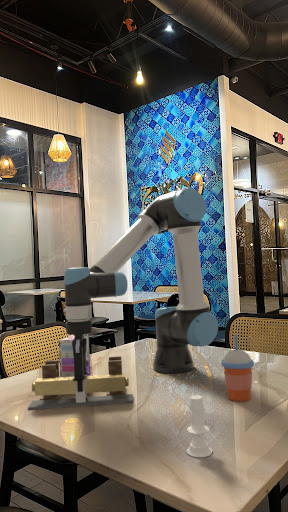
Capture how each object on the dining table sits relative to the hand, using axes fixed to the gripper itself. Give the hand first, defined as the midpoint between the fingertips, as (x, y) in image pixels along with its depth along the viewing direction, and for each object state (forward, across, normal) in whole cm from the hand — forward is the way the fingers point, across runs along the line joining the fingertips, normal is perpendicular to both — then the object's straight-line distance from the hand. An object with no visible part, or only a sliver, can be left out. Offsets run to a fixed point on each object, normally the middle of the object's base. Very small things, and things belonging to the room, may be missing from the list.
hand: (81, 399), depth 121 cm
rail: (-2, 0, 0) cm, 2 cm away
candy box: (+1, -19, -4) cm, 19 cm away
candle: (+1, +36, +28) cm, 46 cm away
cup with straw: (+1, +5, +45) cm, 46 cm away
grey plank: (+1, 0, 0) cm, 1 cm away
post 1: (+1, -8, -10) cm, 13 cm away
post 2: (+1, -8, +10) cm, 13 cm away
